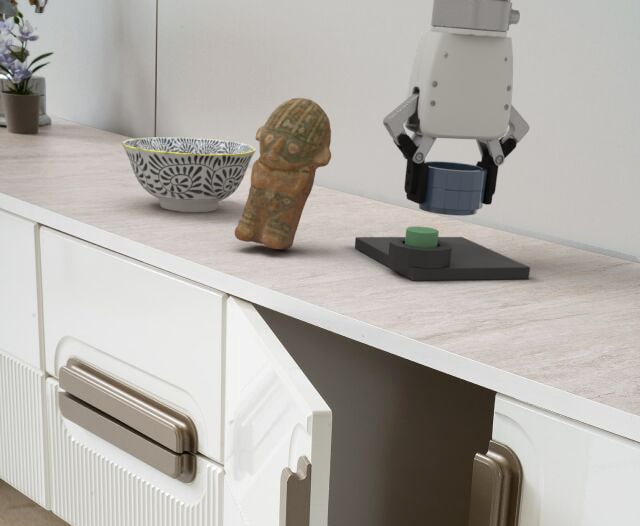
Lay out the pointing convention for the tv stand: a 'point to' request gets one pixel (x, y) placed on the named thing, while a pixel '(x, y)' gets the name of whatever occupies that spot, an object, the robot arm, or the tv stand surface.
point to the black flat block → (442, 259)
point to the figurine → (284, 172)
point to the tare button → (421, 237)
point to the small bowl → (454, 188)
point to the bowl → (188, 170)
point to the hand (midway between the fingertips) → (448, 200)
